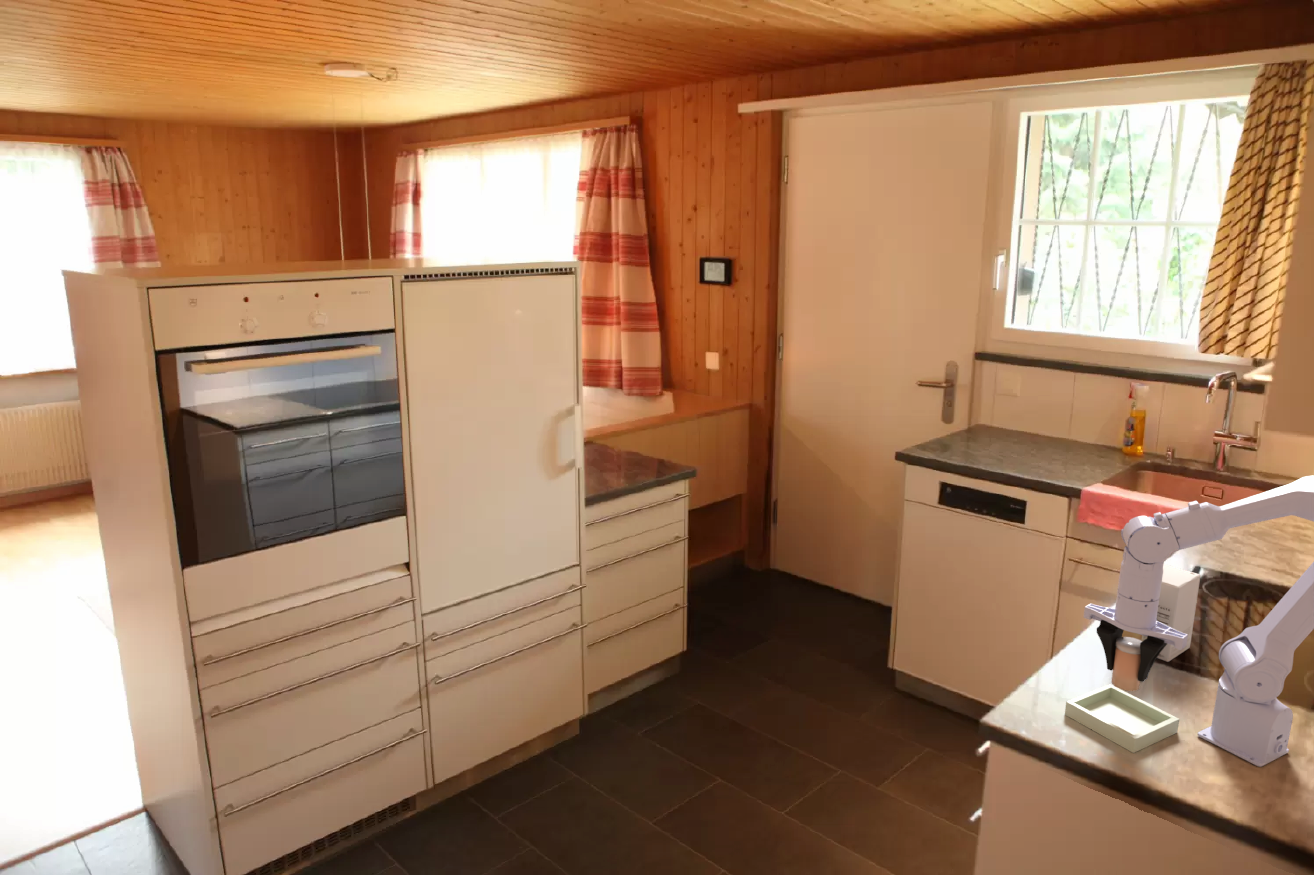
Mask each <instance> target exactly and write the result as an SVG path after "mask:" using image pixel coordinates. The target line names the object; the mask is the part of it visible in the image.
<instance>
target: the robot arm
mask: <svg viewBox="0 0 1314 875" xmlns="http://www.w3.org/2000/svg"><path fill="white" fill-rule="evenodd" d="M1289 516H1295V517H1298V518H1300V519H1305V520H1307V521H1311V522H1313V523H1314V475H1306V476H1302V477H1300V478H1299V479H1296V480H1294V481H1293V482H1290V483H1288V484H1285V485H1282V486H1279V487H1275V488H1272V489H1270V490H1266V491H1264V492H1260V493H1257V494H1253V495H1250V496H1247V497H1245V498H1242V499H1239V500H1235V501H1232V502H1230V503H1226V504H1224V505H1220V506H1219V505H1216V504H1212V503H1210V502H1207V501H1205V502H1201V503H1199V502H1198V501H1197V500H1193V501H1189V502H1188V503H1187V506H1186V507H1183V508H1179V509H1175V510H1172V511H1169V512H1165V513H1161V511H1158V512H1155V513H1153V517H1152V516H1147V515H1138V516H1134V517H1132V518H1131V519H1129V520H1128V522H1126V523H1125V525H1124V526H1123V528H1122V529H1121V530H1120V535H1121V539H1122V541H1123V543H1125V545H1126V546H1124V549H1123V553H1122V560H1121V562H1120V568H1119V569H1120V570H1119V577H1118V586H1117V592H1116V593H1117V594H1116V601H1115V607H1113V608H1112V607H1106V606H1101V605H1097V604H1094V603H1089V604H1087V605H1085V606H1084V611H1083V618H1084V619H1086V620H1092V619H1093V620H1095V621H1098V622H1099V626H1097V627H1096V635H1097V636H1098V639H1099V640H1100V643H1101V645H1102V647H1103V651H1104V656H1105V662H1106V668H1107V670H1108V671H1111V672H1113V666H1114V659H1115V651H1116V639H1117V638H1119V637H1122V634H1123V631H1124V630H1125V631H1128V632H1132V633H1137V634H1140V635H1143V636H1146V637H1147V639H1145V640H1144V641H1142V642H1141V643H1140V652H1141V657H1140V667H1139V672H1138V681H1141V682H1142V683H1143V682H1145V681H1146V680H1147V679H1148V677H1149V673H1150V672H1151V669H1152V667H1153V665H1154V663H1155V662H1156V660H1157V659H1158V658H1157V657H1158V655H1159V654H1160V652H1161V651H1162V650H1163V649H1164V647H1165V646H1166V645H1167V644H1170V645H1173V646H1174V648H1176V649H1179V650H1182V649H1183V648H1185V646H1186V644H1187V638H1188V634H1185V633H1182V632H1179V631H1177V630H1175V629H1173V628H1171V627H1169V626H1167V625H1165V624H1163V623H1161V622H1158V621H1156V618H1157V611H1158V605H1159V597H1160V590H1161V584H1162V577H1163V564H1165V561H1166V560H1167V559H1168V558H1169V557H1170V555H1172V553H1174V552H1177V551H1180V550H1181V551H1182V550H1185V549H1189V548H1193V547H1197V546H1200V545H1205V544H1208V543H1211V542H1215V541H1220V540H1223V538H1224V537H1225V535H1226V534H1227V533H1228V531H1229V530H1230V529H1233V528H1234V529H1235V528H1238V527H1242V526H1247V525H1251V524H1257V523H1261V522H1266V521H1270V520H1276V519H1279V518H1284V517H1289ZM1313 630H1314V561H1313V562H1312V563H1311V564H1310V565H1309V566H1308V568H1307V569H1306V570H1305V571H1304V572H1303V573H1302V574H1301V576H1300V577H1299V578H1298V579H1297V580H1296V582H1295V583H1294V584H1293V585H1292V586H1291V587H1290V588H1289V590H1288V591H1287V592H1286V593H1285V594H1284V595H1283V596H1282V598H1281V599H1280V600H1279V601H1278V602H1277V603H1276V604H1275V606H1273V608H1272V610H1270V612H1269V613H1267V615H1266V616H1265V617H1264V619H1263V620H1262V621H1261V622H1260V623H1259V624H1258V625H1253V626H1249V627H1246V628H1245V629H1244V630H1243V631H1242V632H1241V633H1240V634H1239V635H1237V636H1235V637H1232V638H1230V639H1228V640H1226V641H1225V642H1224V643H1222V645H1221V646H1220V648H1219V651H1218V660H1219V662H1220V664H1221V666H1222V667H1223V668H1224V669H1223V670H1224V671H1223V673H1222V675H1221V676H1220V678H1219V679H1218V685H1217V691H1216V696H1215V702H1214V708H1213V714H1212V720H1211V725H1210V726H1208V727H1206V728H1204V729H1202V730H1200V731H1198V732H1197V736H1198V737H1199V738H1201V739H1204V740H1205V741H1207V742H1210V743H1211V744H1213V745H1215V746H1218V747H1219V748H1221V749H1223V750H1225V751H1227V752H1229V753H1231V754H1233V755H1235V756H1237V757H1239V758H1241V759H1243V760H1244V761H1246V762H1249V763H1251V764H1253V765H1254V766H1257V767H1258V768H1259V767H1263V766H1266V765H1267V764H1269V763H1271V762H1273V761H1274V760H1276V759H1279V758H1280V757H1283V756H1284V755H1286V754H1287V753H1289V751H1290V749H1289V748H1288V745H1289V740H1290V735H1291V729H1292V725H1293V724H1292V723H1293V720H1294V715H1293V714H1294V713H1293V710H1292V709H1291V708H1290V707H1289V706H1287V705H1285V704H1284V703H1282V702H1281V701H1280V700H1279V699H1278V698H1277V697H1279V696H1280V695H1281V693H1282V692H1283V690H1284V686H1285V680H1286V678H1287V677H1288V675H1289V674H1290V673H1291V672H1292V670H1293V664H1294V655H1295V654H1294V653H1295V651H1296V649H1297V648H1298V647H1299V646H1300V645H1301V644H1302V643H1303V641H1304V640H1305V639H1306V638H1307V637H1308V636H1309V635H1310V633H1311V632H1313ZM1141 682H1140V683H1141Z"/></svg>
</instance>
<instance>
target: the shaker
mask: <svg viewBox="0 0 1314 875" xmlns="http://www.w3.org/2000/svg"><path fill="white" fill-rule="evenodd" d="M1141 642H1142V641H1141V640H1138V639H1135V638H1131V637H1119V638H1117V639H1116V651H1115V659H1114V666H1113V670H1112V674H1111V681H1110V682H1111V685H1113V686H1115V687H1117V688H1119V689H1121V690H1123V691H1125V692H1136V691H1139V690H1140V689H1141V688H1140V687H1141V681H1138V672H1139V667H1140V657H1141V652H1140V643H1141Z"/></svg>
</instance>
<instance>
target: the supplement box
mask: <svg viewBox="0 0 1314 875" xmlns="http://www.w3.org/2000/svg"><path fill="white" fill-rule="evenodd" d="M1200 581H1201V574H1200V573H1196V572H1192V571H1189V570H1185V569H1184V568H1183V569H1181V568H1179V567H1176V566H1172V565H1169V564H1166V563H1164V564H1163V577H1162V584H1161V590H1160V597H1159V605H1158V611H1157V618H1156V621H1158V622H1161V623H1163V624H1165V625H1167V626H1169V627H1171V628H1173V629H1175V630H1177V631H1179V632H1182V633H1185V634H1188V638H1187V644H1186V646H1185V648H1183V649H1182V650H1179V649H1176V648H1174V646H1173V645H1170V644H1167V645H1166V646H1165V647H1164V649H1163V650H1162V651H1161V652H1160V654H1159V655H1158V657H1157V658H1156V659H1159V660H1162V661H1164V662H1167V663H1169V662H1170V661H1172V660H1173V659H1175V658H1176V657H1178V656H1179V655H1181V654H1182V653H1184V652H1185V651H1188V649H1190V648H1191V643H1192V635H1193V628H1194V623H1195V622H1194V621H1195V617H1196V616H1195V614H1196V607H1197V604H1198V603H1197V601H1198V594H1199V589H1200V588H1199V587H1200Z"/></svg>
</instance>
